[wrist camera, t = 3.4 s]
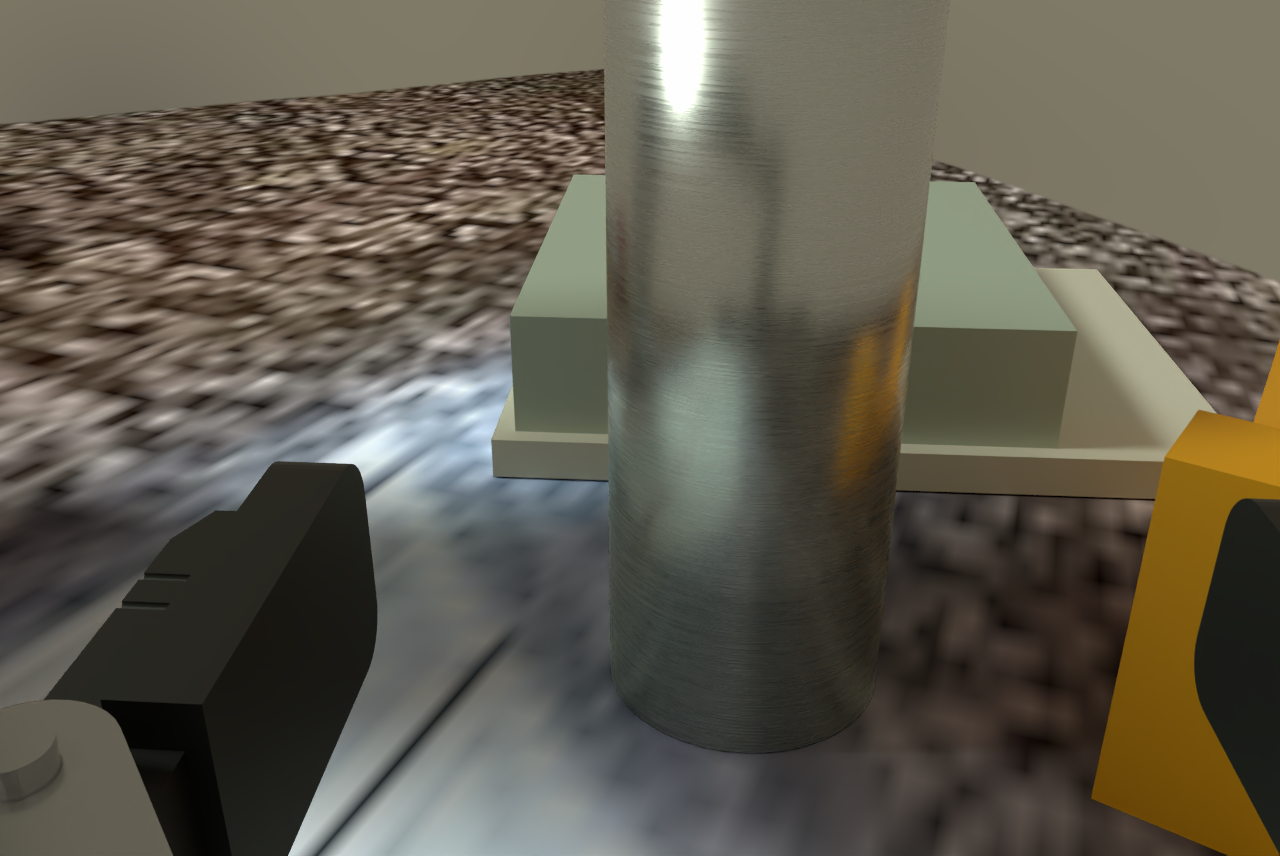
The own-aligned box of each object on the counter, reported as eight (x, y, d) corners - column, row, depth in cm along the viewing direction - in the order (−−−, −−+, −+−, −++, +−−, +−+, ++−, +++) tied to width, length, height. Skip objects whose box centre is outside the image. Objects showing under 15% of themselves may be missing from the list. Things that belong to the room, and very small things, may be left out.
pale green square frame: (493, 476, 30) (484, 323, 28) (563, 284, 42) (560, 170, 40) (1250, 502, 29) (1290, 344, 27) (1091, 297, 41) (1112, 181, 39)
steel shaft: (597, 746, 21) (585, -64, 15) (621, 585, 25) (617, -88, 20) (889, 760, 21) (989, -61, 15) (861, 594, 25) (929, -86, 19)
